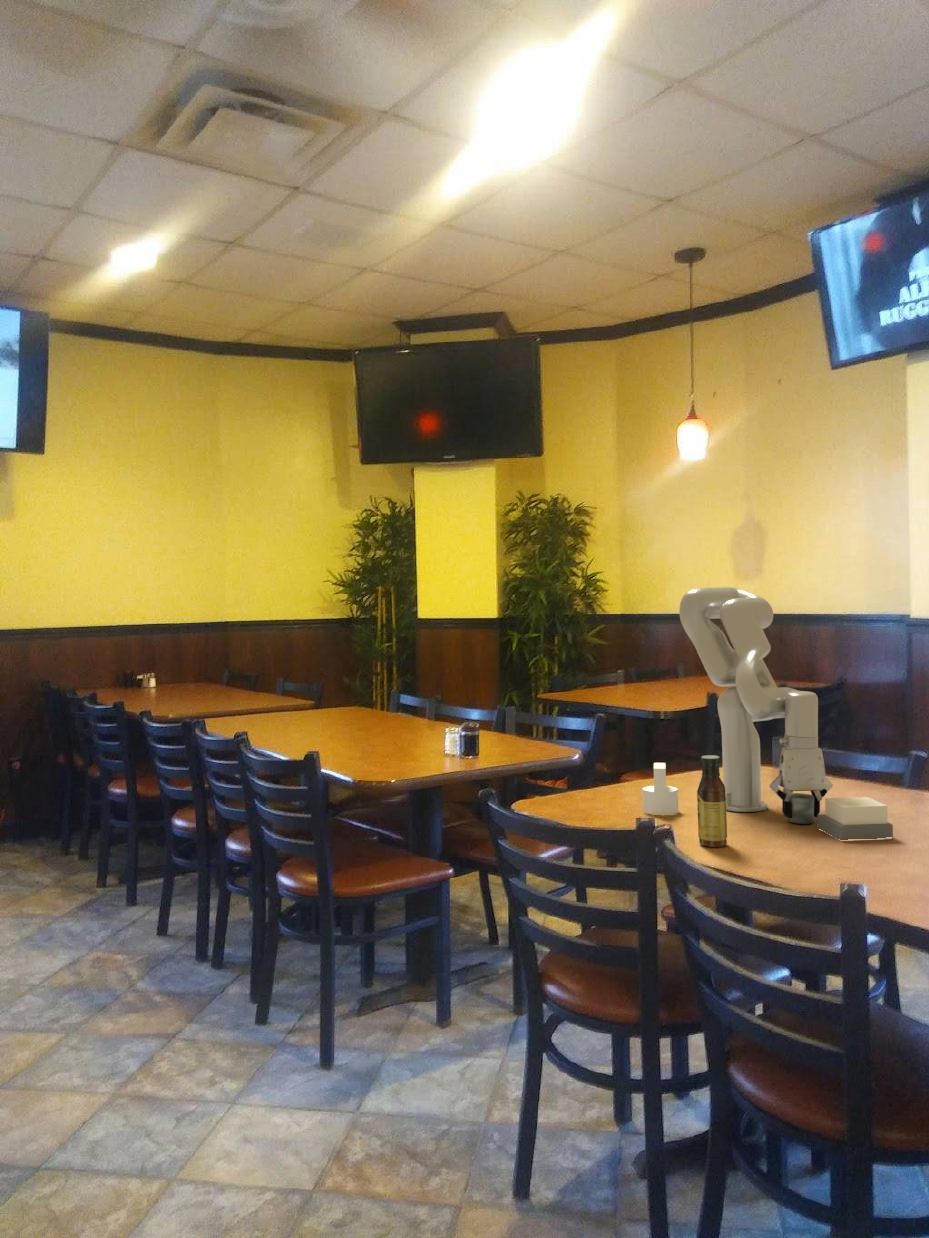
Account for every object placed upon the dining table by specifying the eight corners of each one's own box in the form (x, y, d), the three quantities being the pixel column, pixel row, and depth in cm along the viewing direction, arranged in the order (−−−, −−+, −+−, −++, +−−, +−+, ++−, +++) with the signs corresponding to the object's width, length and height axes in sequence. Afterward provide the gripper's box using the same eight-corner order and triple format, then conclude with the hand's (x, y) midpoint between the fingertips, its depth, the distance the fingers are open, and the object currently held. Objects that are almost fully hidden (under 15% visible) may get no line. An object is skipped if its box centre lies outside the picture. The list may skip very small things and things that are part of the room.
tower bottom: (840, 844, 214) (840, 826, 214) (817, 831, 226) (817, 814, 226) (892, 842, 215) (892, 824, 215) (866, 829, 227) (866, 812, 226)
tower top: (843, 824, 215) (843, 807, 215) (825, 815, 225) (825, 798, 225) (887, 823, 215) (887, 805, 215) (867, 813, 225) (867, 796, 225)
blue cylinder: (794, 824, 229) (794, 799, 229) (783, 817, 235) (783, 793, 235) (818, 823, 230) (818, 798, 229) (807, 817, 236) (807, 792, 235)
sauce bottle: (706, 839, 218) (704, 752, 218) (732, 843, 214) (730, 755, 214) (693, 846, 213) (691, 756, 213) (719, 850, 209) (717, 759, 209)
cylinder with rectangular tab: (678, 816, 242) (677, 768, 242) (642, 815, 244) (641, 768, 244) (678, 808, 251) (677, 762, 251) (643, 807, 253) (642, 762, 252)
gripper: (772, 746, 227) (772, 821, 228) (843, 744, 228) (842, 819, 229) (760, 740, 235) (760, 813, 235) (828, 739, 236) (828, 811, 237)
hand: (801, 815), depth 232 cm, fingers closed on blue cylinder, 6 cm apart
